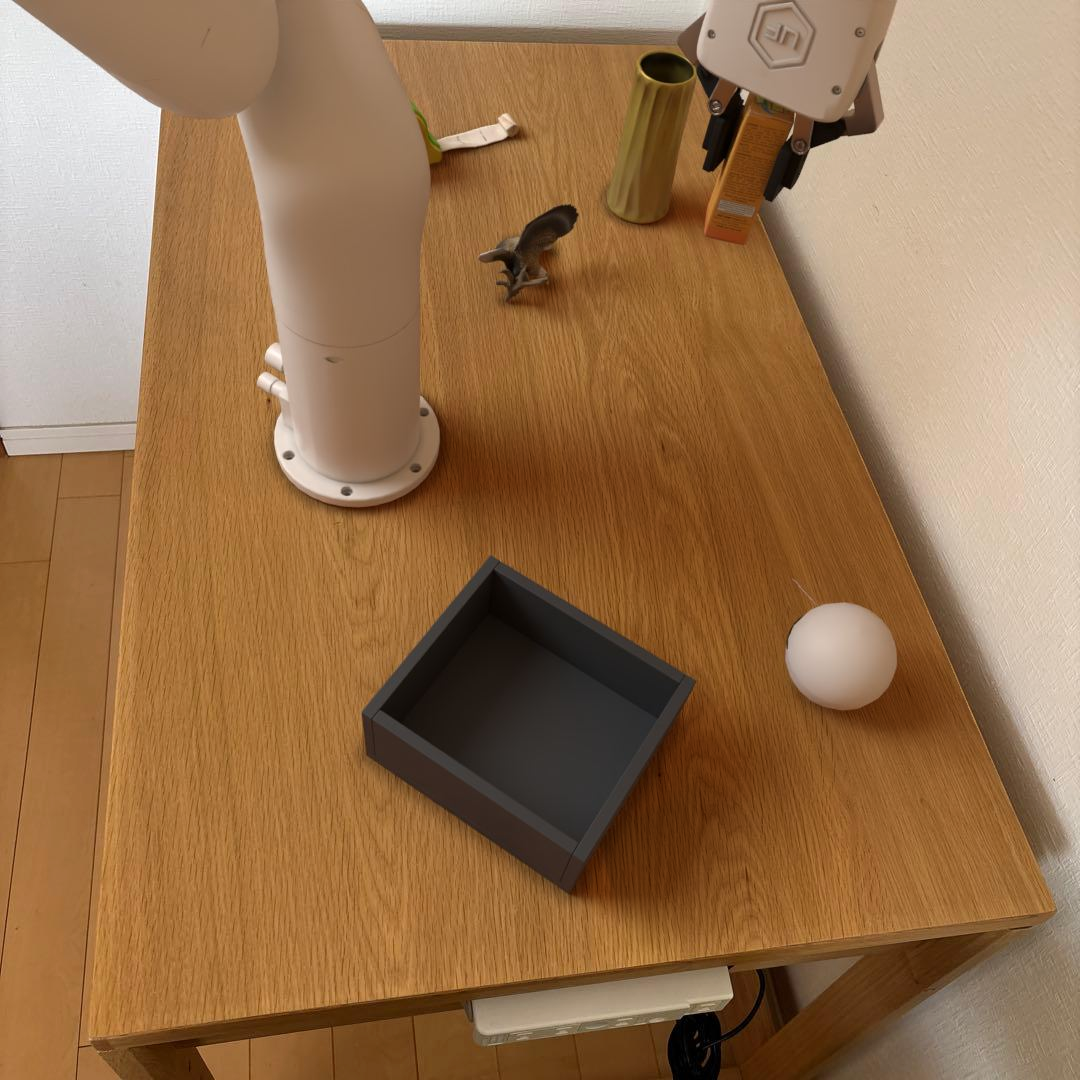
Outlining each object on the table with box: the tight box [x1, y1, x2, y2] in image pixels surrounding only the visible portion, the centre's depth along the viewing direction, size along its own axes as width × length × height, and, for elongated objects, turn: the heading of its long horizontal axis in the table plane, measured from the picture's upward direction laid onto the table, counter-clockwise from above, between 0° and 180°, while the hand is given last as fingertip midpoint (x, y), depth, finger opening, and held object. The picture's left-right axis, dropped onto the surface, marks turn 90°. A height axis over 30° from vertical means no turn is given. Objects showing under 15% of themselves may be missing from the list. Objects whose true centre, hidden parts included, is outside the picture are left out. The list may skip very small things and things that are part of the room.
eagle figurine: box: [477, 203, 580, 303], centre depth 90 cm, size 8×7×9 cm
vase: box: [605, 48, 698, 225], centre depth 93 cm, size 6×6×14 cm
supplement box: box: [703, 92, 796, 246], centre depth 69 cm, size 3×3×10 cm
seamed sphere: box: [784, 578, 898, 711], centre depth 70 cm, size 10×7×7 cm
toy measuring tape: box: [409, 98, 520, 165], centre depth 97 cm, size 6×20×7 cm, turn 118°
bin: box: [360, 554, 698, 894], centre depth 65 cm, size 16×14×7 cm
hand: (746, 173), depth 70 cm, fingers closed on supplement box, 3 cm apart
